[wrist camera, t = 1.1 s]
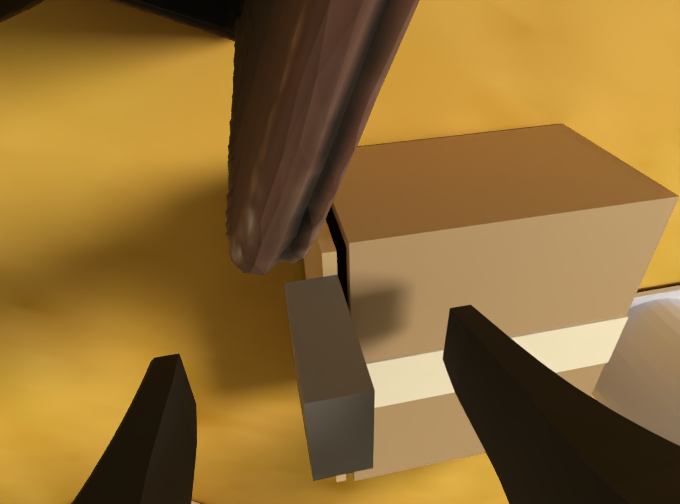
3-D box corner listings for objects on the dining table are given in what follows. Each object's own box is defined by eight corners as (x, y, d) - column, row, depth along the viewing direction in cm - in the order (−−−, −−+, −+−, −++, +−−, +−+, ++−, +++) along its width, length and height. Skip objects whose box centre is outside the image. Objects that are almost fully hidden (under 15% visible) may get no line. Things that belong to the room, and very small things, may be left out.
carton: (562, 123, 19) (682, 197, 14) (508, 337, 26) (575, 435, 21) (313, 151, 17) (349, 245, 13) (328, 369, 24) (355, 483, 20)
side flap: (305, 161, 17) (375, 365, 10) (322, 372, 24) (370, 591, 16) (264, 166, 17) (301, 378, 9) (292, 378, 24) (327, 602, 16)
